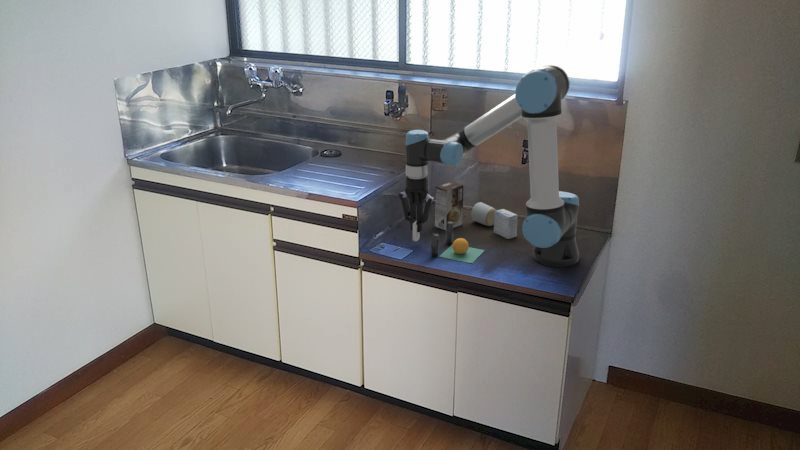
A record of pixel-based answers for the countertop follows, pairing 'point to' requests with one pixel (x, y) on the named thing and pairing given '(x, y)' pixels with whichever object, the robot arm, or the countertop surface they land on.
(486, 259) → the countertop surface
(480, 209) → the white cylinder
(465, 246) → the ball
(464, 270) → the countertop surface
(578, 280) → the countertop surface
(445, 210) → the coffee box
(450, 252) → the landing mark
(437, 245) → the post
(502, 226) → the medicine box
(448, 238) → the post
